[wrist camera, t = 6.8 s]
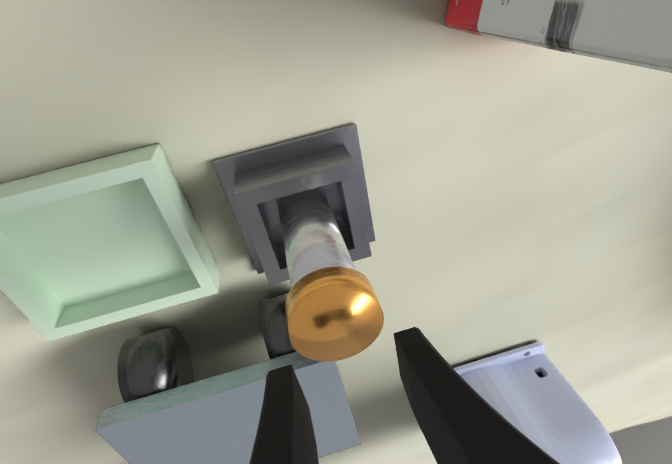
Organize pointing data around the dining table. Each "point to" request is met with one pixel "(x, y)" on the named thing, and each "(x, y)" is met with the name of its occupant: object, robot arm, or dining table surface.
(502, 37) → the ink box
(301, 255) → the pin
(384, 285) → the dining table surface
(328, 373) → the trolley
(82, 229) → the tray
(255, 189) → the pin socket
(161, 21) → the dining table surface
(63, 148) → the dining table surface
